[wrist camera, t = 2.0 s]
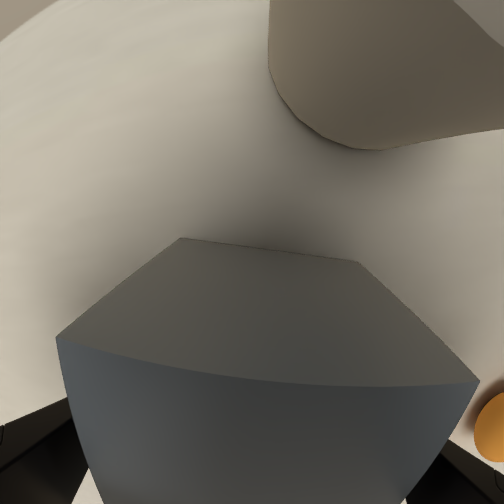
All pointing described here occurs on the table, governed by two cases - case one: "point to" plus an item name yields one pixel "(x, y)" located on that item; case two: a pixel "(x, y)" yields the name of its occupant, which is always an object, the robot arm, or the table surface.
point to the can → (389, 68)
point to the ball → (491, 430)
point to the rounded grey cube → (258, 382)
